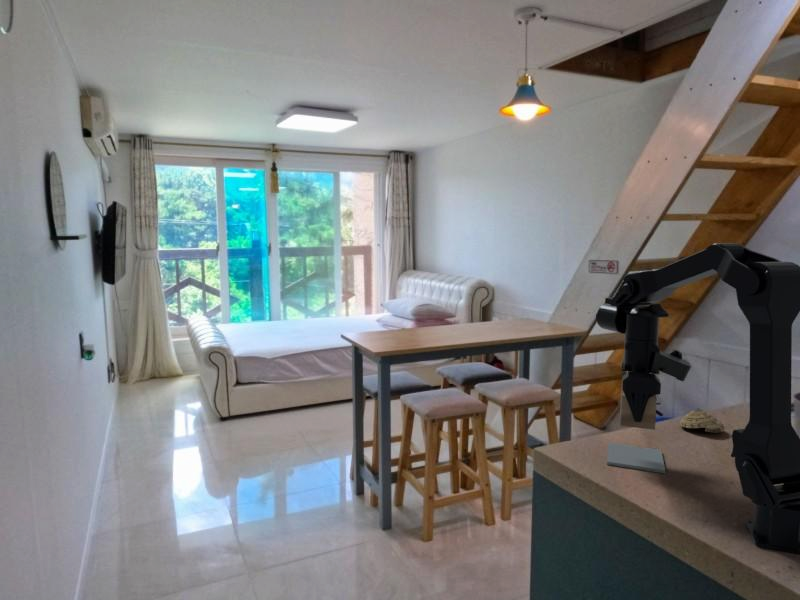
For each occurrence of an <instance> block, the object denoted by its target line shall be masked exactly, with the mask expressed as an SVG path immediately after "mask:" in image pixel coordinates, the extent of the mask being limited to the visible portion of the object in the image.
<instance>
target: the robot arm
mask: <svg viewBox="0 0 800 600" xmlns="http://www.w3.org/2000/svg"><path fill="white" fill-rule="evenodd" d="M717 274H718V276H719V278H720V279H721V280H722V282H724V283H725V284H727V285H729V286H730V287H731V288H733V289H735V293H736V300H737V305H738V307H739V309H740V311H741V312H742V314H743V315H744V317H745V318H746V320H747V322H748V325H749V418H748V419H749V420H748V422H747V424H746V425H745V427H744V428H740V429H739V428H738V429H733V430H732V434H731V439H732V452H731V454H730V457H731V458H734V466H735V469H736V471H737V473H738V479H739V481H740V485H741V490H742V494H743V496H744V497H746V498H748V499H750V500H751V503H753V504H754V505H755V506H754V516H753V519H754V520H746V522H745V525H746V526H747V529H748V531H749V533H750V535H751V538H752V540H753V542H754V544H755V545H756V546H757V547H761V548H767V549H771V550H778V551H783V552H788V553H792V554H799V555H800V436H799V435H798V434H797V431H796V430H795V428H794V427H793V425H792V350H793V349H792V348H793V347H792V344H793V343H792V341H793V340H792V339H793V338H792V337H793V336H792V335H793V332H792V329H793V323H794V322H795V321H796V318H797V317H798V314H799V313H800V265H798V264H796V263H795V262H793V261H782V260H779V259H778V258H775V257H772V256H769V255H766V254H763V253H761V252H757V251H755V250H752V249H750V248H748V247H746V246H744V245H742V244H740V243H737V242H716V243H713V244H711V245H709V246H707V247H706V248H704V249H702V250H700V251H697V252H695V253H692V254H690V255H688V256H686V257H682V258H681V259H679V260H676V261H674V262H671V263H670V264H667V265H664V266H663V267H660V268H656V269H650V270H641V271H634V272H630V273H627V274H626V275H624V277H623V279H622V280H623V281H622V282H621V283H620V285H619V287H618V289H617V291H616V292H615V294H614V296H612V297H605V299H604V300H605V301H604V303H603V304H601V306H600V307H599V308H598V310H597V312H596V313H595V320H596V323H597V325H598V326H599V327H600V328H601V329H603V330H608V331H611V332H615V333H619V334H625V335H624V336H625V339H624V354H623V355H624V357H623V358H622V359H621V378H622V382H621V383H622V384H621V389H622V390H623V391H624V394H625V397H626V399H627V402H628V404H629V407H630V410H631V412H632V415H633V418H634V421H635V422H641V421H642V417H643V414H644V411H645V408H646V405H647V402H648V399H649V398H650V397H652V396H653V395H656V396H658V395H661V389H662V383H661V380H660V378H659V377H658V376H657V375H660V372H661V373H664V374H666V375H668V376H671V377H673V378H675V379H676V380H678V381H680V382H685V380H686V378H687V376H688V375H689V372H690V371H691V368H692V365H691V363H690V361H688V360H686V359H683V354H682V352H681V351H680V350H678V349H675V348H672V349H671V350H670V351H668V352H667V351H662V350H661V348H660V344H659V326H660V325H659V324H660V318H668V317H669V313H668V312H667V311H666V310H665V309H664V308H663V307H662V305H661V302H662V301H664V300H666V299H667V298H669V297H671V296H673V293H675V291H676V290H677V289H678V288H682V287H684V286H686V285H689V284H692V283H695V282H697V281H700V280H703V279H705V278H709V277H710V276H711V277H712V276H714V275H717ZM654 303H655V304H654Z"/></svg>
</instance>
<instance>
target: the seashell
mask: <svg viewBox="0 0 800 600" xmlns="http://www.w3.org/2000/svg"><path fill="white" fill-rule="evenodd" d="M679 425H680V426H681V427H683V428H687V429H702V428H703V429H705V430H704V432H706V433H710V434H711V433H713V434H714V433H721V432H722V433H723V432H724V431H725V430H726V427H725V425H724V423H722V421H721V420H719V419H717V418H716V417H715V416H714V415H712V414H711V413H709V412H707V411H705V410H703V409H701V408H695V409H694V410H691V411H690V412H688V413H687V414H685V415H684V417H682V419H681V420H680V422H679Z"/></svg>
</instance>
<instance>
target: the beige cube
mask: <svg viewBox="0 0 800 600" xmlns="http://www.w3.org/2000/svg"><path fill="white" fill-rule="evenodd" d="M620 389H621V390H620V391H621V392H620V411H619V412H620V413H619V417H620V418H619V419H620V420H619V422H620V424H619V426H620V427H628V428H629V427H630V428H637V429H644V430H653V431H654V430H656V421H657V419H656V418H657V416H656V415H657V403H658V398H657V395H653V396H652V397H650V398H649V399H648V402H647V405H646V408H645V411H644V414H643V417H642V421H641V422H635V421H634V418H633V415H632V412H631V410H630V407H629V404H628V402H627V399H626V397H625V394H624V391H623V390H622V388H620Z"/></svg>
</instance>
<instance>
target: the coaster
mask: <svg viewBox="0 0 800 600" xmlns="http://www.w3.org/2000/svg"><path fill="white" fill-rule="evenodd" d="M606 456H607V459H606V460H607V461H606V465H607V466H614V467H623V468H627V469H635V470H640V471H641V470H642V471H646V472H647V471H648V472H655V473H659V474H660V473H661V474H666V466H665V463H664V457H663V453H662V449H657V448H650V447H641V446H634V445H628V444H620V443H613V442H607V455H606Z"/></svg>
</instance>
